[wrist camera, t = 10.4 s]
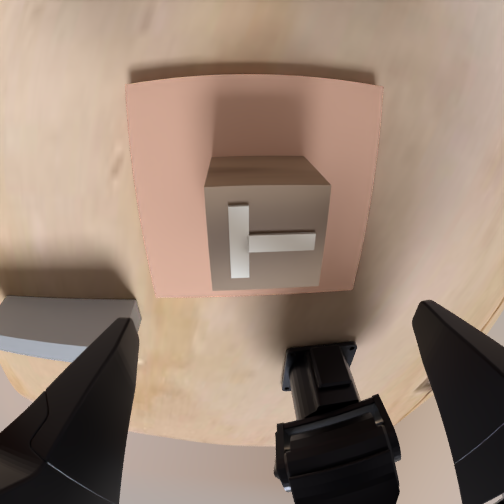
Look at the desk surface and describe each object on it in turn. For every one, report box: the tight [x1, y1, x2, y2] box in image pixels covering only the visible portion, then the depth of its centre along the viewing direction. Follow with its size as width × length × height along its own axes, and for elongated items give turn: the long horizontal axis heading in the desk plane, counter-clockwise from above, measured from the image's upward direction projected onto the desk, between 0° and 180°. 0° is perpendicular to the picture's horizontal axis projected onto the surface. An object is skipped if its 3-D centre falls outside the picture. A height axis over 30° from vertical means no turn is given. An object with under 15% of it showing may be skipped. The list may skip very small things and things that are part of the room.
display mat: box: [125, 74, 383, 298], centre depth 17 cm, size 14×14×1 cm
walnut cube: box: [204, 156, 331, 291], centre depth 15 cm, size 5×5×5 cm
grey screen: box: [0, 296, 142, 362], centre depth 20 cm, size 2×14×5 cm, turn 90°
